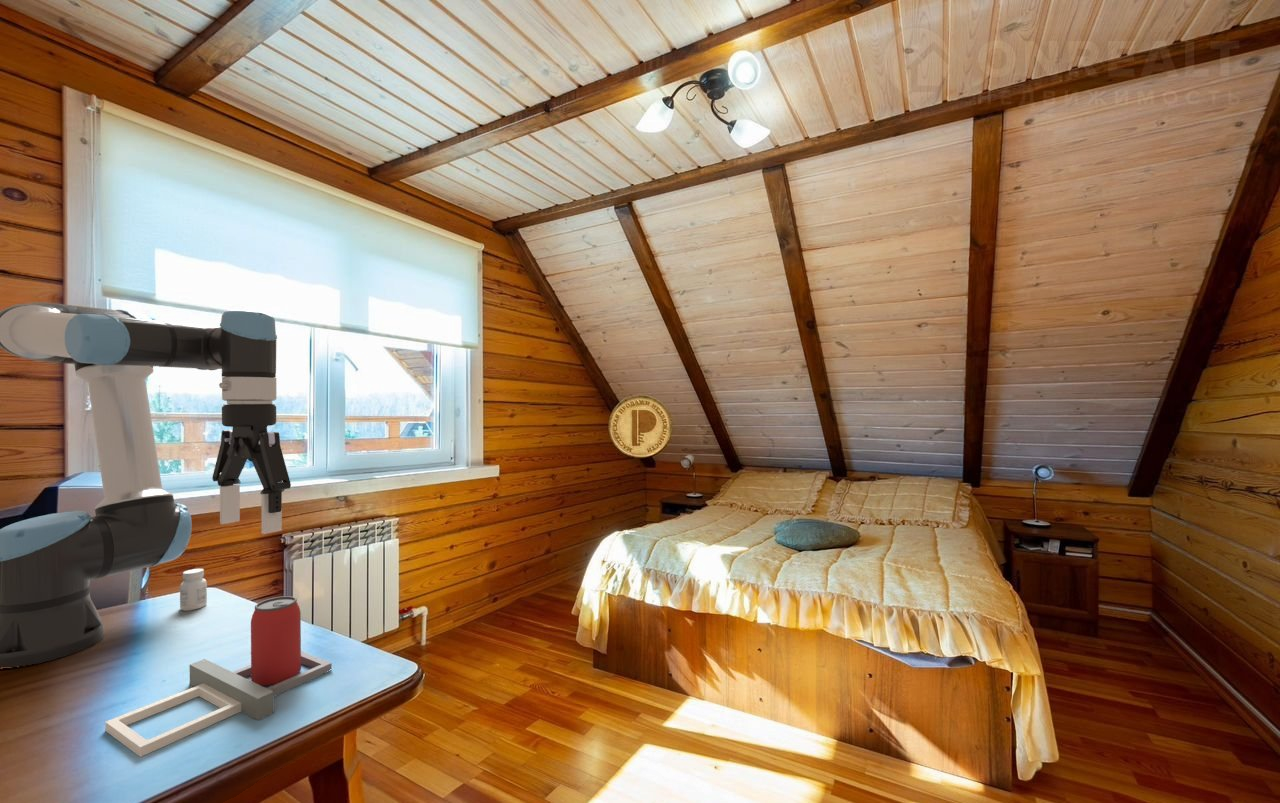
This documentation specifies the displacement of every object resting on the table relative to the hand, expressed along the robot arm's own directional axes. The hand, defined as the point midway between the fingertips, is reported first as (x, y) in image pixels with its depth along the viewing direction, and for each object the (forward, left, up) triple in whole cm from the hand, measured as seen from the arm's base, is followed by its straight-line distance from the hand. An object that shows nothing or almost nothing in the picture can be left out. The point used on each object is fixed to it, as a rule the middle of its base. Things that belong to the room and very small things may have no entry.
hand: (250, 527), depth 91 cm
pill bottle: (-36, +6, -23) cm, 43 cm away
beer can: (+11, -1, -23) cm, 25 cm away
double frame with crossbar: (+11, -8, -22) cm, 26 cm away
